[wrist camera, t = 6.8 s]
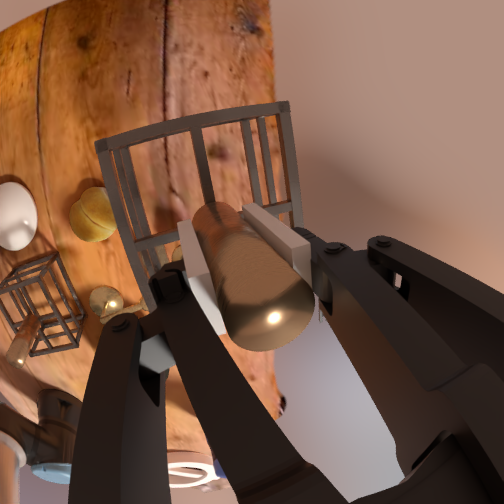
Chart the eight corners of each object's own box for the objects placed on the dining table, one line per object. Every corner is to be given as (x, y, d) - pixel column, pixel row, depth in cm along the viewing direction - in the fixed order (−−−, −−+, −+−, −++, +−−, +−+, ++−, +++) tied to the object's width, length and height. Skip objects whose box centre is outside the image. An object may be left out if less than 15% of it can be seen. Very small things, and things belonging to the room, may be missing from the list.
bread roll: (64, 216, 38) (56, 223, 34) (97, 177, 38) (91, 180, 34) (96, 249, 42) (91, 258, 38) (131, 213, 42) (128, 219, 38)
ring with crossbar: (129, 455, 66) (130, 466, 62) (208, 445, 73) (212, 456, 69) (155, 480, 78) (157, 490, 74) (220, 471, 85) (223, 480, 81)
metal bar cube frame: (43, 327, 43) (17, 395, 26) (13, 268, 37) (-34, 326, 20) (87, 315, 45) (68, 390, 29) (58, 251, 39) (14, 312, 23)
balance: (109, 282, 44) (93, 341, 30) (98, 257, 42) (76, 311, 28) (202, 256, 48) (221, 307, 34) (195, 229, 46) (212, 273, 32)
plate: (3, 255, 35) (-1, 258, 34) (-17, 195, 30) (-21, 197, 29) (48, 236, 38) (45, 239, 37) (28, 170, 33) (24, 171, 31)
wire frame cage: (157, 277, 27) (172, 452, 10) (119, 141, 21) (9, 148, 4) (267, 246, 29) (386, 372, 13) (246, 112, 24) (405, 80, 7)
